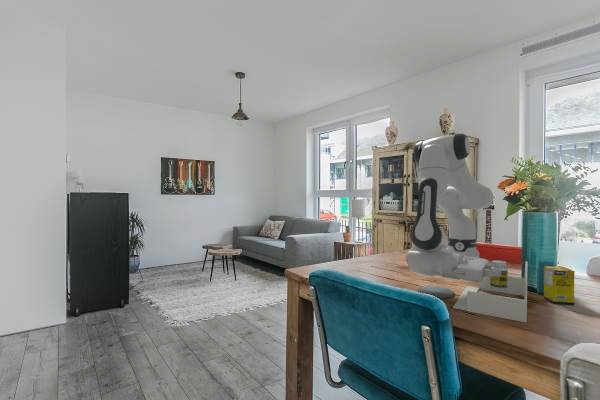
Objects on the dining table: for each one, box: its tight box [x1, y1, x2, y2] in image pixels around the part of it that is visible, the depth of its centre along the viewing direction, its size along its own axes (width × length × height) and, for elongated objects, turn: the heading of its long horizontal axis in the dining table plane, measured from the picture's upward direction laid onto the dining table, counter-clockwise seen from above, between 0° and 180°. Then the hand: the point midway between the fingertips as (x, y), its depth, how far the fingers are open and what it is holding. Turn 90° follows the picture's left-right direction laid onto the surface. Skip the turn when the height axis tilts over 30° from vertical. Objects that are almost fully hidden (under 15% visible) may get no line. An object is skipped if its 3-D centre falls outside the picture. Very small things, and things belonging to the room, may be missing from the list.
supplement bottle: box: [490, 259, 509, 289], centre depth 105 cm, size 5×5×8 cm
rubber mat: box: [417, 285, 456, 299], centre depth 116 cm, size 12×12×1 cm
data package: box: [536, 260, 556, 295], centre depth 118 cm, size 12×4×12 cm, turn 154°
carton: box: [452, 260, 529, 323], centre depth 106 cm, size 28×19×12 cm, turn 145°
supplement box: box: [543, 266, 575, 306], centre depth 106 cm, size 6×6×11 cm
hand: (501, 271), depth 104 cm, fingers closed on supplement bottle, 5 cm apart
